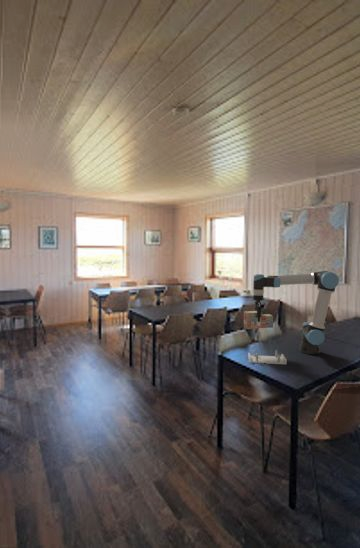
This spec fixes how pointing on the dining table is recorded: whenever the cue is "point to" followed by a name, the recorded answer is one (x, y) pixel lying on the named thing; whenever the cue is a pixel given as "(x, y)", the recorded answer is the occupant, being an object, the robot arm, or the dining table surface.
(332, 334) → the dining table surface
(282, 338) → the dining table surface
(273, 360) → the rack with pegs
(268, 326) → the stack of blocks
